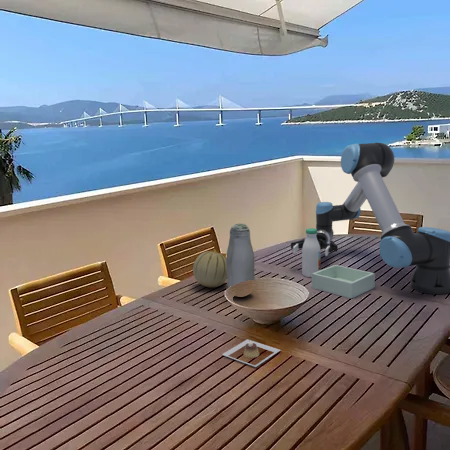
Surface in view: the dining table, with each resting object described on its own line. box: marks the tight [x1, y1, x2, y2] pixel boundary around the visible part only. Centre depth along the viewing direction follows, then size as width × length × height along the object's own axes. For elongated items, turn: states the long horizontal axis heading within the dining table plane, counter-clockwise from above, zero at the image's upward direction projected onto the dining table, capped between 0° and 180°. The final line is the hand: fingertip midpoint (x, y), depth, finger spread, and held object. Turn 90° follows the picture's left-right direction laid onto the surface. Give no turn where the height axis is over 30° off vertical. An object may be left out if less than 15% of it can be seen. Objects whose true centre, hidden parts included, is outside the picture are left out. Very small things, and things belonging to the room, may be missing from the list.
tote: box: [311, 264, 376, 299], centre depth 185 cm, size 18×16×6 cm
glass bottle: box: [225, 223, 255, 288], centre depth 178 cm, size 10×10×28 cm
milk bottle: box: [301, 227, 322, 278], centre depth 200 cm, size 8×8×20 cm
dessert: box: [221, 338, 281, 368], centre depth 134 cm, size 12×12×5 cm
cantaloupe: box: [192, 248, 227, 288], centre depth 191 cm, size 15×15×15 cm
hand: (309, 251), depth 198 cm, fingers open, 13 cm apart
